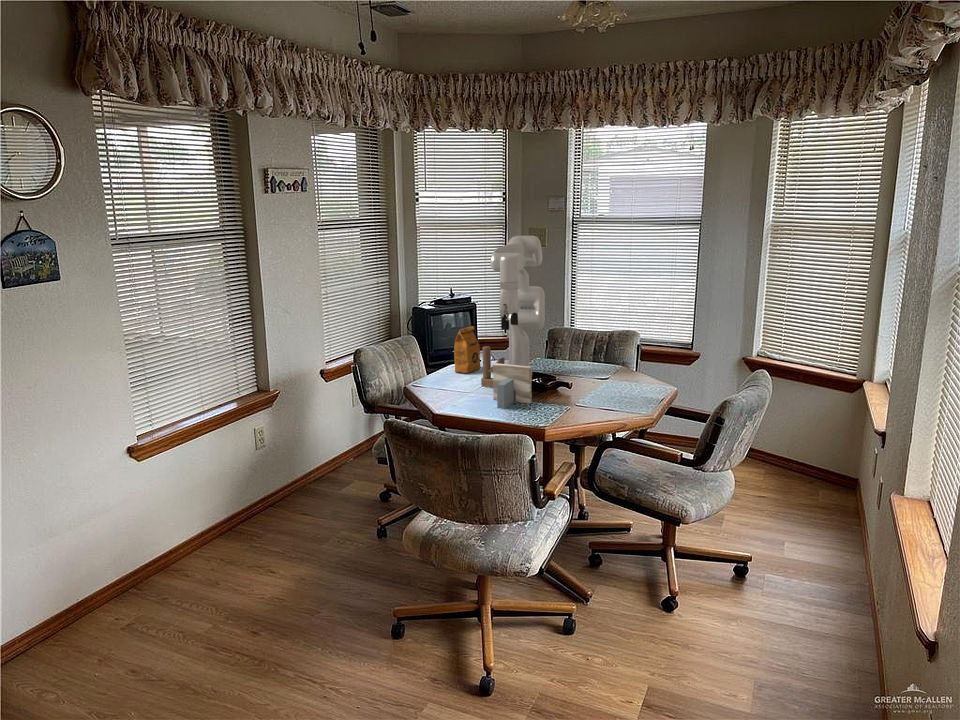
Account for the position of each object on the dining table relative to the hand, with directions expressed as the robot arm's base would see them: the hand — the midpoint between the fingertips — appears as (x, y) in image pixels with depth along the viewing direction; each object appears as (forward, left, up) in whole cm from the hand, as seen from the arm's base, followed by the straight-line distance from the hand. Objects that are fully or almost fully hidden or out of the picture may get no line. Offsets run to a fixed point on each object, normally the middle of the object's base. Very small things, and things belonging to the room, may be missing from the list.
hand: (509, 327), depth 277 cm
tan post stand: (-14, -14, -31) cm, 37 cm away
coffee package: (-35, -37, -31) cm, 60 cm away
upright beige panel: (+2, +2, -31) cm, 31 cm away
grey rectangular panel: (+2, +2, -31) cm, 31 cm away
